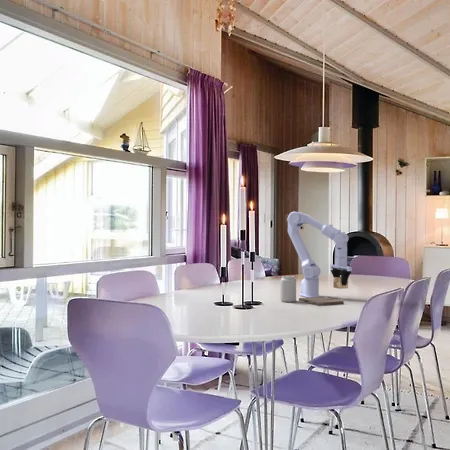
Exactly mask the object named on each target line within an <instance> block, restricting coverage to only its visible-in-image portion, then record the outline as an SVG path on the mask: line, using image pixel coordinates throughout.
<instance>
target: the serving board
mask: <svg viewBox="0 0 450 450" xmlns="http://www.w3.org/2000/svg"><path fill="white" fill-rule="evenodd" d="M298 301H299V302H303V303H306V304H310V305H313V306H319V307H320V306H321V305H322V306H331V305H332V306H334V305H344V304H345V303H344V300H340V299H335V298H331V297H327V296H322V297H299V298H298Z"/></svg>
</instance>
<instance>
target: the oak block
mask: <svg viewBox="0 0 450 450" xmlns="http://www.w3.org/2000/svg"><path fill="white" fill-rule="evenodd" d="M332 283H333V288H335V289H340V290H342V289H343V290H344V289H349V279H348V280H347V284H346V285H342V282H341V276H340V277H333V282H332Z"/></svg>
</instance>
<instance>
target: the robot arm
mask: <svg viewBox="0 0 450 450" xmlns="http://www.w3.org/2000/svg"><path fill="white" fill-rule="evenodd" d="M286 222H287V234H288V236H289V238H290V240H291V242H292V245H293V246H294V249H295V251H296V254H297V255H298V257H299V259H300V262H301V269H302V275H303V277H304V278H303V279H301V282H300V293H299V294H298V296H301V297H304V298H308V297H323V295H320V278H319V276H320V275H321V268H320V267H319V266H318V265H317V264H316V262H315V260H313V259H312V257H311V255H310V253H309V250H308V248H307V246H306V244H305V242H304V240H303V237H302V235H301V233H300V230H301V227H302V226H303V224H309V226H312V227H314V228H316V229H318V230H320V232H321V235H323V236H325V237H326V238H329V239H330V240H332V241H333V243H334V244H335V248H334V264H330V265H329V266H330V268H329V269H330V273H331V274H332V276H333V278H334V277H341V282H342V285H346V284H347V280H348V281H349V277H350V275H351V274H352V271H353V269H352V267H351V266H349V265H348V241H349V240H350V239H349V238H350V237H349V235H348V234H347V233H346V231H345V232H343V231H342V230H341V229H337V228H336V227H334V225H332V224H324V223H322V222H321V221H319V220H317V219H316V218H314V217H313V216H311V215H309V214H307V213H305V212H303V211H292V212H290V213H289V214H288V216H287V218H286Z"/></svg>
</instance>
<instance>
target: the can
mask: <svg viewBox="0 0 450 450" xmlns="http://www.w3.org/2000/svg"><path fill="white" fill-rule="evenodd" d="M279 284H280V285H279V287H280V289H279V291H280V293H279V298H280V299H279V300H280V301H281V302H282V303H294V302H295V301H296V300H297V278H296V276H294V275H282V276H281V279H280V282H279Z"/></svg>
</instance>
